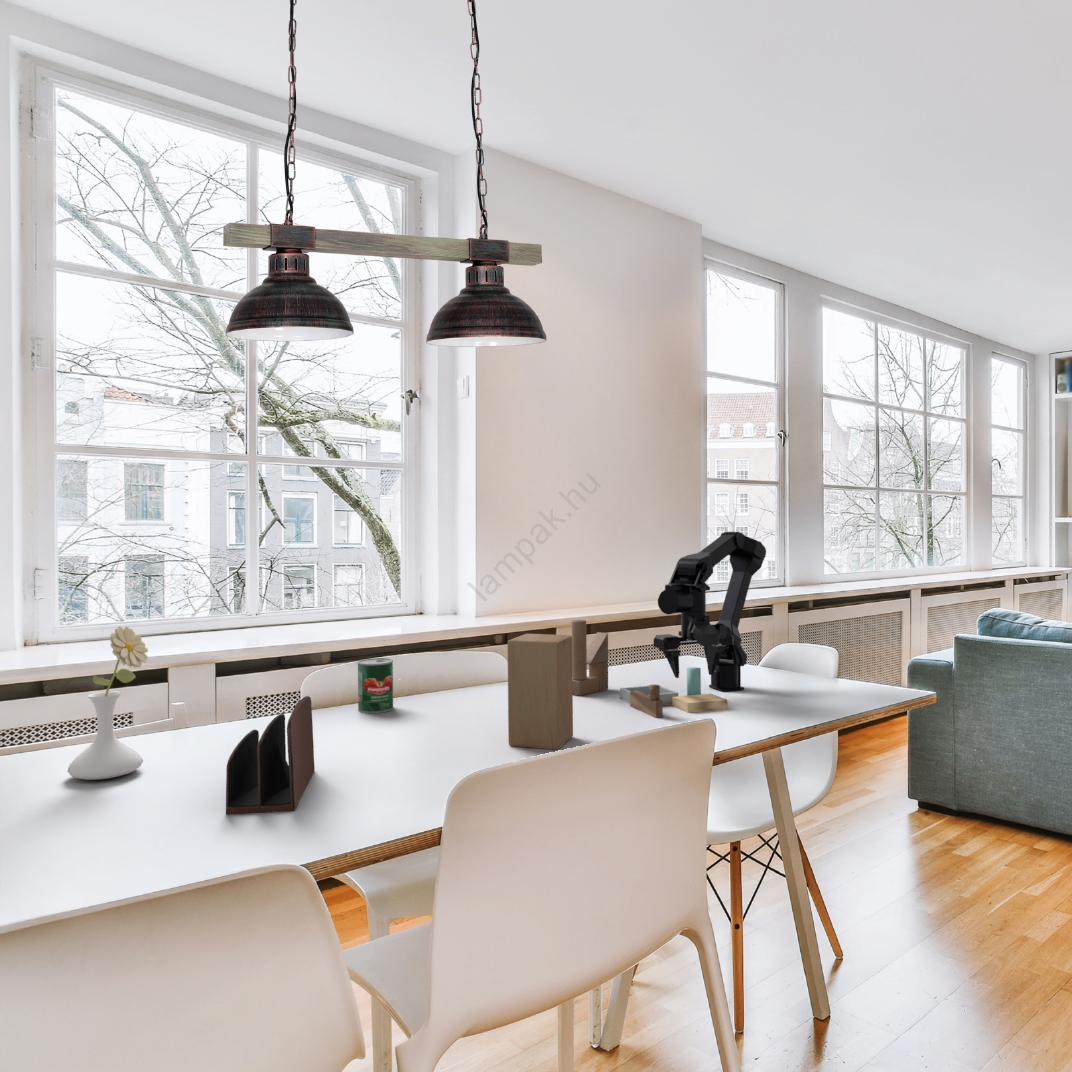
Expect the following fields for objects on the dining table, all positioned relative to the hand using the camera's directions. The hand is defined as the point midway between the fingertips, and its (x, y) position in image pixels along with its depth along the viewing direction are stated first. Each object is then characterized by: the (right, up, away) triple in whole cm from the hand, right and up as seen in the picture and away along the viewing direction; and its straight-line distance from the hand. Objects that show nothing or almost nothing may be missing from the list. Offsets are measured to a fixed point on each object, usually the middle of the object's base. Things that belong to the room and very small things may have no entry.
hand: (694, 676), depth 194 cm
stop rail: (-13, -6, -13) cm, 20 cm away
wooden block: (-36, -6, -37) cm, 52 cm away
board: (-1, -6, -10) cm, 11 cm away
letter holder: (-79, -8, -64) cm, 102 cm away
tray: (-11, -5, -3) cm, 13 cm away
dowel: (0, -5, 0) cm, 5 cm away
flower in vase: (-110, -8, -55) cm, 123 cm away
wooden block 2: (-24, -5, +8) cm, 26 cm away
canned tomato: (-74, -6, -8) cm, 74 cm away
